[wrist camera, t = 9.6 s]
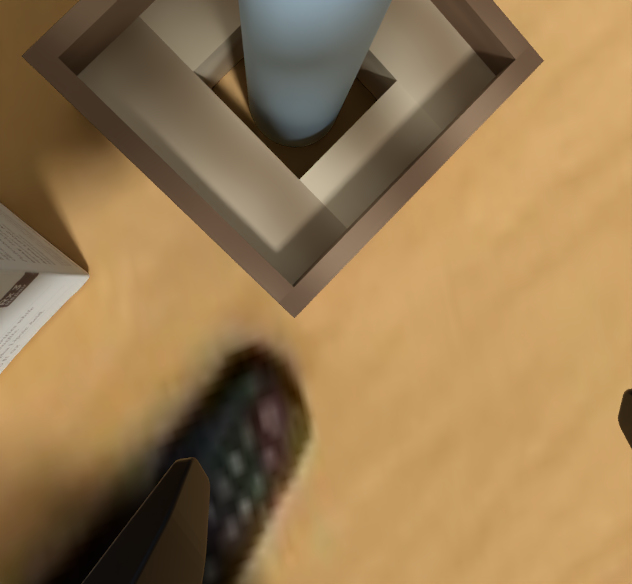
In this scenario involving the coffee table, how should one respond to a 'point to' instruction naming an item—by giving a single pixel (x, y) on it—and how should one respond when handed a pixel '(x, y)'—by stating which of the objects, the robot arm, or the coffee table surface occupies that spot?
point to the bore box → (251, 153)
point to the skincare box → (30, 283)
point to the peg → (304, 61)
